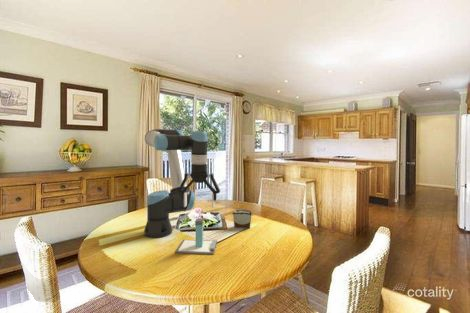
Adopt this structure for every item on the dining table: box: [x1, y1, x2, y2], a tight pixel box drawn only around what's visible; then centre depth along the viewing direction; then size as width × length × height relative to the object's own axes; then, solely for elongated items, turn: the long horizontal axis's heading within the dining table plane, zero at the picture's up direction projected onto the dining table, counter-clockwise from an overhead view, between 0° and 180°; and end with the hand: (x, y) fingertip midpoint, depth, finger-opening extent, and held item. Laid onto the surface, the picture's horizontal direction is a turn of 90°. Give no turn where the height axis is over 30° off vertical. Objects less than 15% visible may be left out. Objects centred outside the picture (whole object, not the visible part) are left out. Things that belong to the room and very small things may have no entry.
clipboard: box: [174, 239, 218, 256], centre depth 118 cm, size 18×14×2 cm
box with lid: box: [194, 218, 204, 247], centre depth 117 cm, size 3×3×13 cm
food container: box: [232, 208, 253, 229], centre depth 146 cm, size 12×6×10 cm, turn 84°
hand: (199, 206), depth 116 cm, fingers open, 13 cm apart
